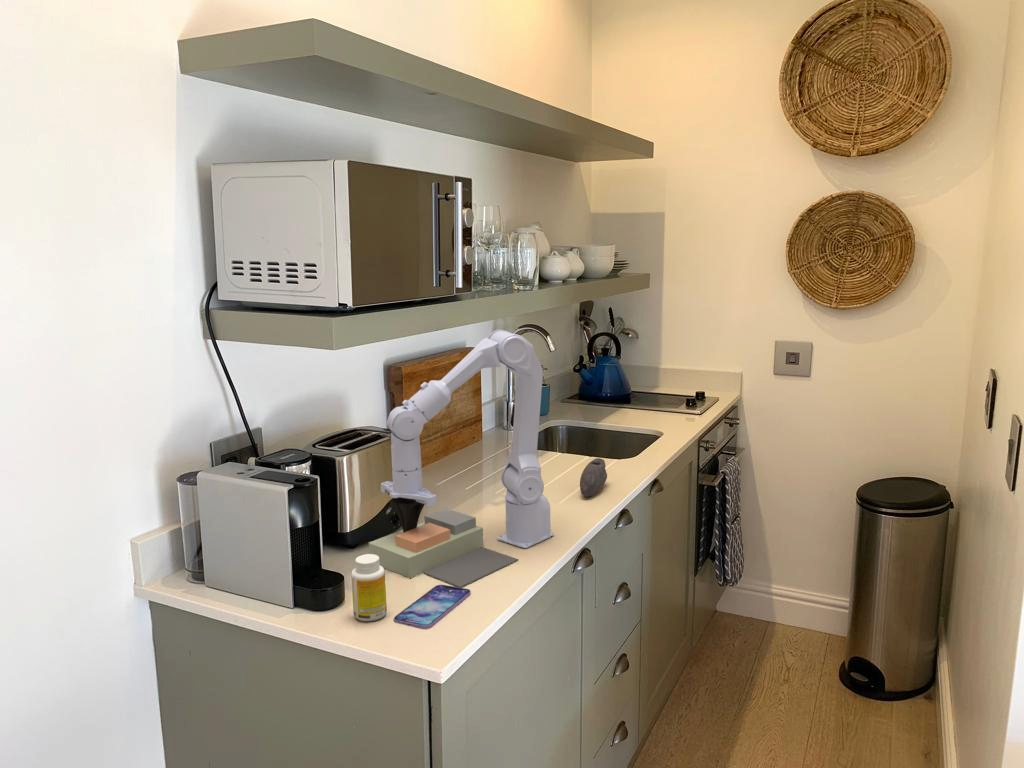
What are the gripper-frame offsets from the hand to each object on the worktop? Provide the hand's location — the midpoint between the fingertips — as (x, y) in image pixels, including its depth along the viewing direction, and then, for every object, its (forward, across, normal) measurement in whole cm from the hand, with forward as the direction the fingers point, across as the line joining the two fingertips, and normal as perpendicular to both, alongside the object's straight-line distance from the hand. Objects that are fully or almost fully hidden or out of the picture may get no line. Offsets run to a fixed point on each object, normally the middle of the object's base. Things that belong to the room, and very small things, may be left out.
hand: (409, 533), depth 159 cm
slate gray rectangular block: (+1, +2, +10) cm, 10 cm away
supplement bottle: (+5, +14, -21) cm, 26 cm away
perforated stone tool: (+5, +4, +55) cm, 56 cm away
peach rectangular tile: (+1, +4, 0) cm, 4 cm away
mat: (+5, +13, +4) cm, 15 cm away
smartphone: (+6, +20, -12) cm, 24 cm away
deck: (+5, +2, +3) cm, 6 cm away
